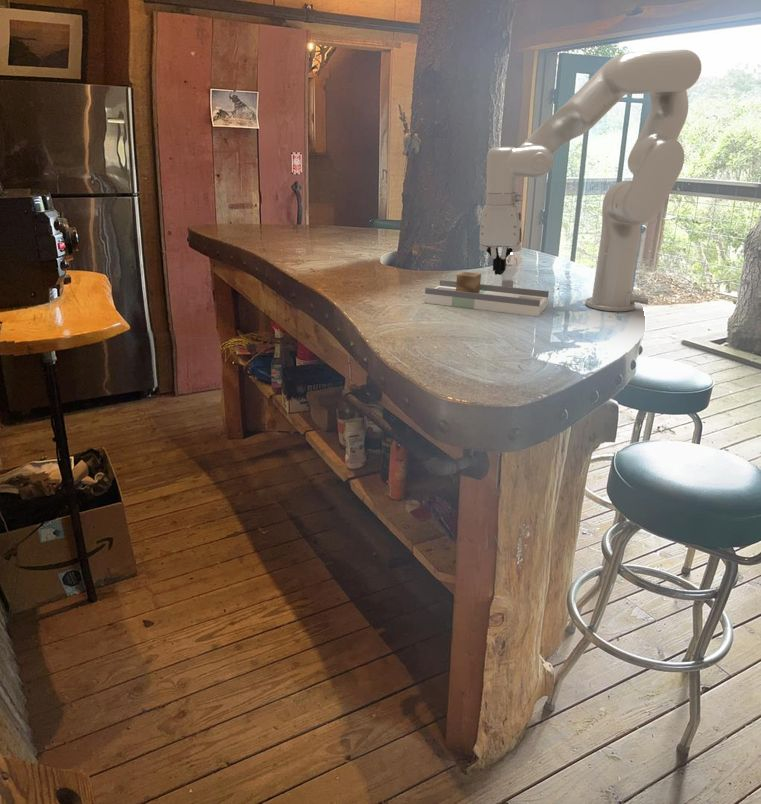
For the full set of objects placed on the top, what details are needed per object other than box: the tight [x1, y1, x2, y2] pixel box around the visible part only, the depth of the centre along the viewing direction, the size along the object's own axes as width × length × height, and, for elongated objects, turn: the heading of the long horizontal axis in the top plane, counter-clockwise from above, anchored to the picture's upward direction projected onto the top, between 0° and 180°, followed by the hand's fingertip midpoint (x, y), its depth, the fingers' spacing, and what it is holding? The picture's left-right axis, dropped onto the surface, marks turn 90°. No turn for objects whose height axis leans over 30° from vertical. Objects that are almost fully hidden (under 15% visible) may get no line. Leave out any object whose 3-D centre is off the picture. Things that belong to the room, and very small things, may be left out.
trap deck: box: [424, 279, 550, 317], centre depth 171 cm, size 30×12×4 cm, turn 66°
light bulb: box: [499, 251, 523, 288], centre depth 186 cm, size 7×7×12 cm
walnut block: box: [456, 271, 482, 293], centre depth 172 cm, size 5×5×5 cm
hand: (499, 273), depth 168 cm, fingers closed
